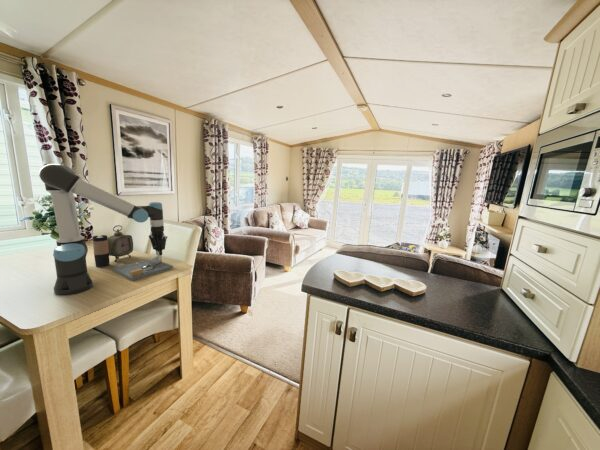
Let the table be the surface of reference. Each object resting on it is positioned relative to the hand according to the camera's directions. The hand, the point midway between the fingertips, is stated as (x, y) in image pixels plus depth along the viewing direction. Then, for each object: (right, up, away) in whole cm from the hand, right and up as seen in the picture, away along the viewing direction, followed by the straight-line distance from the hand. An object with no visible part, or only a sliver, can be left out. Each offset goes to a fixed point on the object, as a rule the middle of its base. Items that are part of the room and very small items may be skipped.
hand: (159, 259), depth 162 cm
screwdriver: (-2, -6, -15) cm, 17 cm away
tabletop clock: (-34, -1, +10) cm, 36 cm away
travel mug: (-36, -4, -3) cm, 37 cm away
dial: (-2, -3, -4) cm, 6 cm away
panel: (-7, -6, -6) cm, 11 cm away
